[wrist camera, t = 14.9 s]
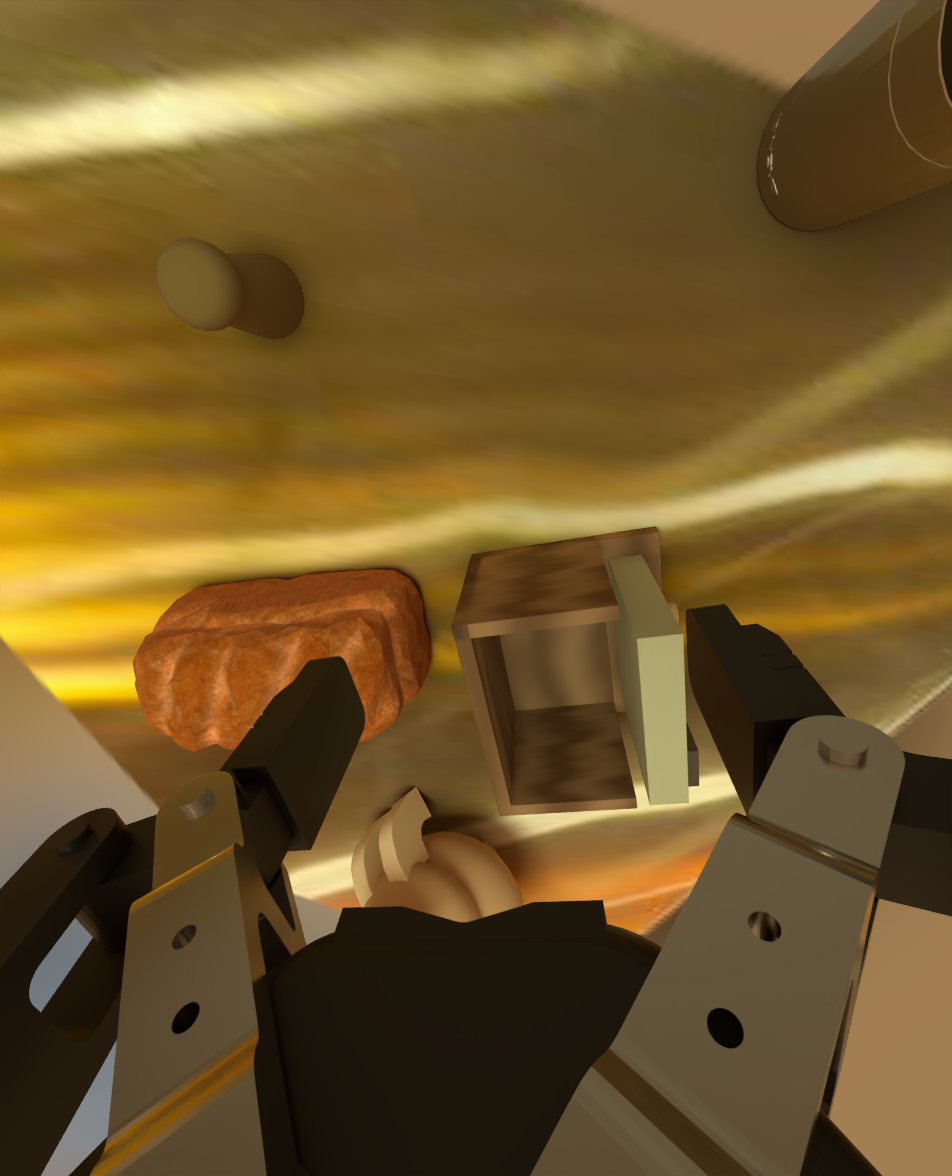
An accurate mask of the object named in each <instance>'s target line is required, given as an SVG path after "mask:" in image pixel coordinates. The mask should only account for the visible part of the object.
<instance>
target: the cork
mask: <svg viewBox="0 0 952 1176" xmlns="http://www.w3.org/2000/svg"><path fill="white" fill-rule="evenodd" d="M156 276H157V284H158V287H159V290H160V294H161V296H162V297H163V299H164V301H165V303H166V304H167V306H168V308H169V309H170V310H171V311H172V312H173V313H174V314H175V315H176V316H177V317H178V318H179V319H180V320H182V321H183V322H185V323H186V324H188V325H190V326H192V327H194V328H197V329H201V330H205V331H216V330H223V329H225V328H226V327H228V326H231V327H234V328H237V329H241V330H244V331H247V332H250V333H253V334H256V335H259V336H263V337H267V338H270V339H278V338H284V337H286V336H288V335H289V334H291V333H293V331H294V330H295V329H296V328H297V327H298V325H299V324H300V321H301V318H302V316H303V310H304V298H303V293H302V288H301V286H300V284H299V282H298V280H297V278H296V275H295V274H294V273H293V272H292V271H291V269H290V268H289V267H288V266H287V265H286V264H285V263H283V262H282V261H280V260H279V259H277V258H276V257H272V256H268V255H265V254H225V253H224V252H223V251H221V250H220V249H218V248H217V247H215V246H214V245H212V244H211V243H208V242H205V241H202V240H198V239H194V238H188V239H181V240H176V241H174V242H172V243H171V244H169V245H168V246H166V248H165V249H164V251H163V252H162V254H161V255H160V257H159V260H158V264H157V268H156Z"/></svg>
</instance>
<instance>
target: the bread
mask: <svg viewBox="0 0 952 1176" xmlns="http://www.w3.org/2000/svg"><path fill="white" fill-rule="evenodd" d="M334 656H340V657H342V658H343V659H344V660H345V662H346V664H347V666H348V669H349V671H350V673H351V676H352V678H353V681H354V683H355V686H356V688H357V691H358V693H359V696H360V698H361V701H362V703H363V706H364V711H365V726H364V730H363V733H362V735H361V738H360V740H359V742H362V741H365V740H369V739H371V738H372V737H374V736H375V735H377V734H378V733H380V732H381V731H383V730H384V729H386V728H387V727H389V726H390V725H391V724H392V723H394V722H395V721H396V720H397V719H398V716H399V714H400V712H401V709H402V707H403V705H405V704H406V703H408V702H410V701H412V700H413V698H414V697H415V695H416V694H417V693H418V691H419V690H420V688H421V686H422V684H423V682H424V680H425V678H426V676H427V674H428V670H429V666H430V661H431V650H430V639H429V635H428V632H427V628H426V625H425V622H424V618H423V602H422V599H421V597H420V595H419V592H418V590H417V588H416V587H415V585H414V584H413V582H412V581H411V579H409V578H408V577H406V576H404V575H402V574H400V573H399V572H397V571H395V570H370V569H369V570H358V571H346V572H330V573H319V574H308V575H302V576H299V577H296V578H293V579H290V580H284V579H278V578H269V579H256V580H249V581H242V582H235V583H227V584H220V585H213V586H206V587H200V588H196V589H194V590H192V591H191V592H189V593H187V594H186V595H184V596H182V597H181V598H179V599H177V600H176V601H175V602H174V603H173V604H172V605H171V606H170V607H169V608H168V610H167V611H166V612H165V613H164V614H163V615H162V616H161V617H160V618H159V620H158V622H157V624H156V626H155V628H154V629H153V632H152V633H150V634H148V635H147V636H146V637H145V639H144V641H143V643H142V645H141V646H140V648H139V650H138V652H137V654H136V655H135V658H134V660H133V667H134V673H135V677H136V681H135V687H136V691H137V694H138V698H139V701H140V705H141V709H142V713H143V714H144V716H145V717H146V719H147V720H148V722H149V724H150V725H151V726H153V727H154V728H155V729H156V730H157V731H158V732H160V733H161V734H162V735H163V736H172V737H173V739H174V741H175V743H176V744H177V745H178V746H179V747H181V748H185V749H188V750H192V751H197V750H200V749H203V748H205V747H208V746H210V745H213V744H219V745H221V746H222V747H224V748H226V749H228V750H235V749H236V748H237V746H238V745H239V743H240V742H241V741H242V739H243V738H244V737H245V735H246V734H247V733H248V731H249V730H250V729H251V728H253V724H254V723H255V722H256V720H257V719H258V718H259V716H260V715H263V711H264V709H265V708H266V707H267V705H268V704H269V703H270V701H271V700H272V699H273V697H274V696H275V695H277V694H278V693H279V692H280V691H281V690H283V689H284V688H285V687H286V686H287V685H289V684H290V683H291V682H293V681H294V680H295V678H296V677H297V675H298V674H299V673H300V671H301V670H302V668H303V667H304V666H305V664H306V663H307V662H308V661H309V660H313V659H320V658H327V657H334Z"/></svg>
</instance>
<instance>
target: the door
mask: <svg viewBox="0 0 952 1176" xmlns="http://www.w3.org/2000/svg"><path fill="white" fill-rule="evenodd" d="M609 569H610V579H611V585H612V588H613V591H614V594H615V597H616V600H617V603H618V607H619V617H620V620H617V621H615V630H616V640H617V650H618V660H619V671H620V681H621V691H622V698H623V702H624V706H625V710H626V714H627V717H628V721H629V725H630V729H631V733H632V737H633V741H634V745H635V749H636V752H637V756H638V760H639V764H640V768H641V772H642V776H643V780H644V784H645V787H646V791H647V795H648V799H649V803H650V805H661V804H678V803H689V795H688V765H687V734H686V704H685V673H684V642H683V632H682V630H681V628H680V627H679V625H678V623H679V614H678V609H677V605H676V603H675V602H672V603H667V602H666V600H665V598H664V596H663V594H662V592H661V590H660V588H659V586H658V585H657V583H656V581H655V579H654V577H653V575H652V573H651V571H650V569H649V567H648V565H647V564H646V562H645V560H644V558H643V556H642V555H635V556H628V557H621V558H614V559H609Z"/></svg>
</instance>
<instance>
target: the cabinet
mask: <svg viewBox="0 0 952 1176" xmlns="http://www.w3.org/2000/svg"><path fill="white" fill-rule="evenodd" d="M635 555H642V556H643V558H644V560H645V562H646V564H647V565H648V567H649V569H650V571H651V573H652V575H653V577H654V579H655V581H656V583H657V585H658V586H659V588H660V590H661V592H662V576H661V556H660V536H659V531H658V529H657V528H656V527H650V528H643V529H636V530H630V531H623V532H617V533H610V534H604V535H597V536H591V537H584V538H578V539H571V540H564V541H558V542H551V543H545V544H538V545H532V546H525V547H519V548H512V549H505V550H499V551H492V552H486V553H479V554H473V555H472V556H471V559H470V563H469V566H468V570H467V573H466V577H465V580H464V584H463V588H462V591H461V595H460V598H459V602H458V605H457V609H456V612H455V616H454V619H453V623H452V631H453V635H454V638H455V642H456V646H457V650H458V654H459V658H460V662H461V666H462V670H463V673H464V677H465V681H466V685H467V689H468V693H469V697H470V701H471V705H472V708H473V712H474V716H475V720H476V724H477V728H478V732H479V736H480V740H481V744H482V747H483V751H484V755H485V759H486V763H487V767H488V771H489V775H490V779H491V782H492V786H493V790H494V794H495V798H496V802H497V806H498V810H499V814H500V816H509V815H526V814H544V813H561V812H579V811H596V810H614V809H632V808H637V801H636V795H635V791H634V787H633V782H632V778H631V774H630V769H629V765H628V761H627V756H626V752H625V748H624V743H623V739H622V735H621V730H620V726H619V721H618V717H617V713H616V712H622V711H626V710H625V706H624V702H623V698H622V691H621V681H620V671H619V660H618V650H617V640H616V630H615V621H617V620H620V617H619V607H618V603H617V600H616V597H615V594H614V591H613V588H612V585H611V579H610V569H609V559H614V558H621V557H628V556H635ZM686 734H687V765H688V787H689V786H699V754H698V749H697V746H696V744H695V741H694V739H693V737H692V734H691V732H690V729H689V727H688V724H687V722H686Z"/></svg>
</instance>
